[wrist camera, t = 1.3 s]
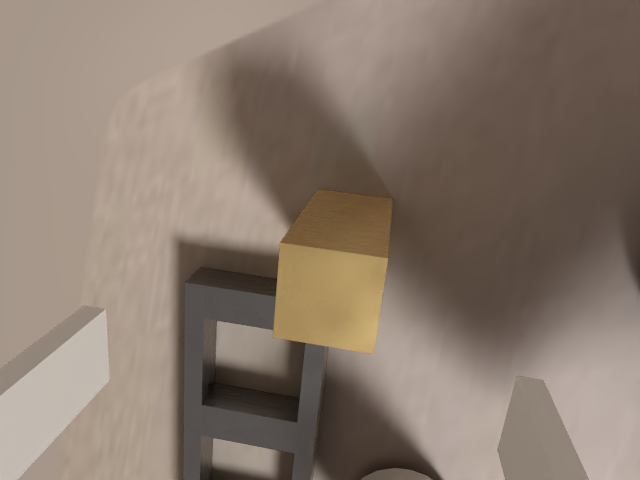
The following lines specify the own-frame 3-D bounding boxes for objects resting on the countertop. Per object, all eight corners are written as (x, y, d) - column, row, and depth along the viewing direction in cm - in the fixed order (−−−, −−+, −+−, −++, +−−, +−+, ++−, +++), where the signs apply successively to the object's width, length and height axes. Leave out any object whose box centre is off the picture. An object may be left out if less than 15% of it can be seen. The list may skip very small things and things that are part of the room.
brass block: (392, 198, 30) (388, 258, 21) (382, 269, 31) (373, 354, 22) (317, 188, 30) (280, 242, 21) (310, 258, 32) (273, 337, 23)
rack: (335, 288, 32) (330, 305, 30) (307, 524, 39) (301, 553, 37) (200, 267, 33) (184, 282, 31) (195, 500, 40) (182, 527, 38)
